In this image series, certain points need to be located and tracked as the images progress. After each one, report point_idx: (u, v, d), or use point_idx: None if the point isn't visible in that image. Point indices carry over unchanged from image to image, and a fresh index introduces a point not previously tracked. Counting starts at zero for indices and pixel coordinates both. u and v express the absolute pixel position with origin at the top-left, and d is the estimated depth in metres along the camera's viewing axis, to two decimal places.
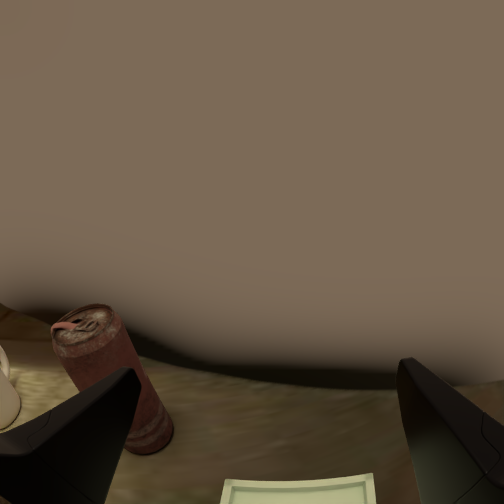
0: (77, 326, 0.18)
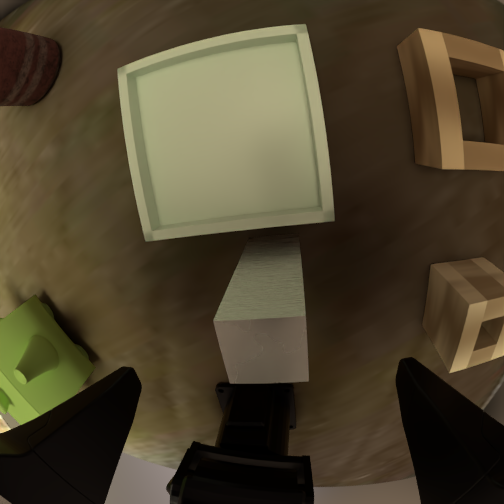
0: None
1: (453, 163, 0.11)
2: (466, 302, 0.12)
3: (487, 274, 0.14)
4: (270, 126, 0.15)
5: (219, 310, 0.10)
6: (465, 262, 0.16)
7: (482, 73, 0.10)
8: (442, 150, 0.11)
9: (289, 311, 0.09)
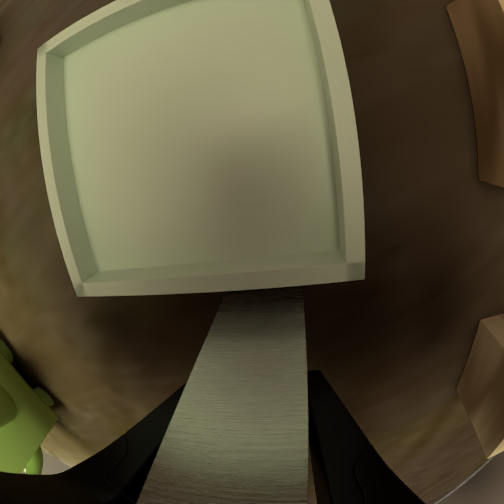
0: None
1: None
2: None
3: None
4: (256, 113, 0.08)
5: (143, 494, 0.03)
6: None
7: None
8: None
9: None
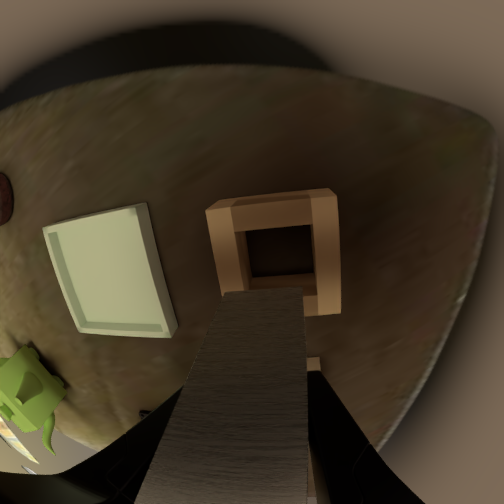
0: None
1: None
2: None
3: None
4: (130, 275, 0.22)
5: (141, 494, 0.03)
6: None
7: None
8: None
9: None
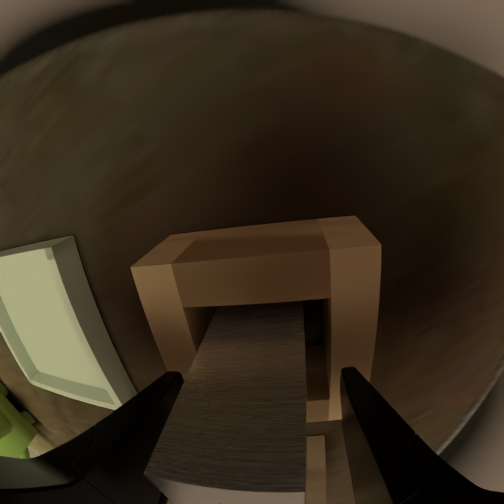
0: None
1: None
2: None
3: None
4: (69, 331, 0.14)
5: (156, 450, 0.04)
6: None
7: None
8: None
9: (275, 476, 0.04)
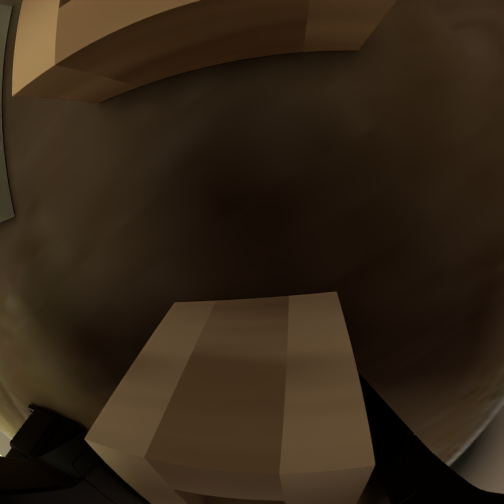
0: None
1: (31, 68, 0.03)
2: (93, 428, 0.04)
3: (287, 352, 0.06)
4: None
5: None
6: (262, 305, 0.08)
7: None
8: (20, 59, 0.03)
9: None
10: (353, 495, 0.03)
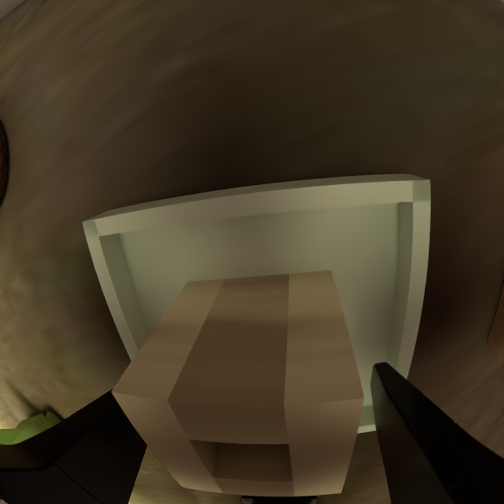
0: None
1: None
2: (119, 383, 0.05)
3: (288, 316, 0.07)
4: None
5: None
6: (266, 281, 0.09)
7: None
8: None
9: None
10: (349, 439, 0.05)
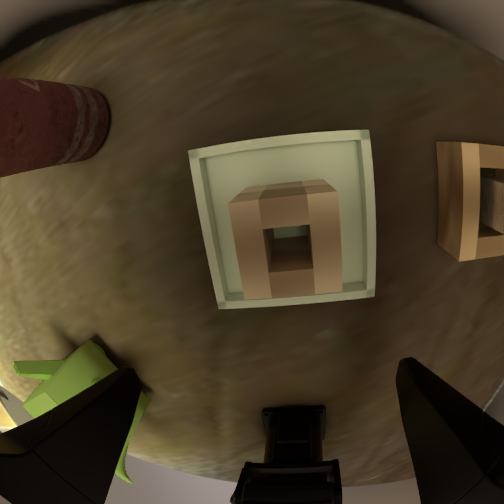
0: None
1: (467, 255, 0.15)
2: None
3: (303, 187, 0.15)
4: None
5: None
6: (290, 183, 0.17)
7: None
8: (461, 247, 0.15)
9: None
10: (336, 221, 0.13)
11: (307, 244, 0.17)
